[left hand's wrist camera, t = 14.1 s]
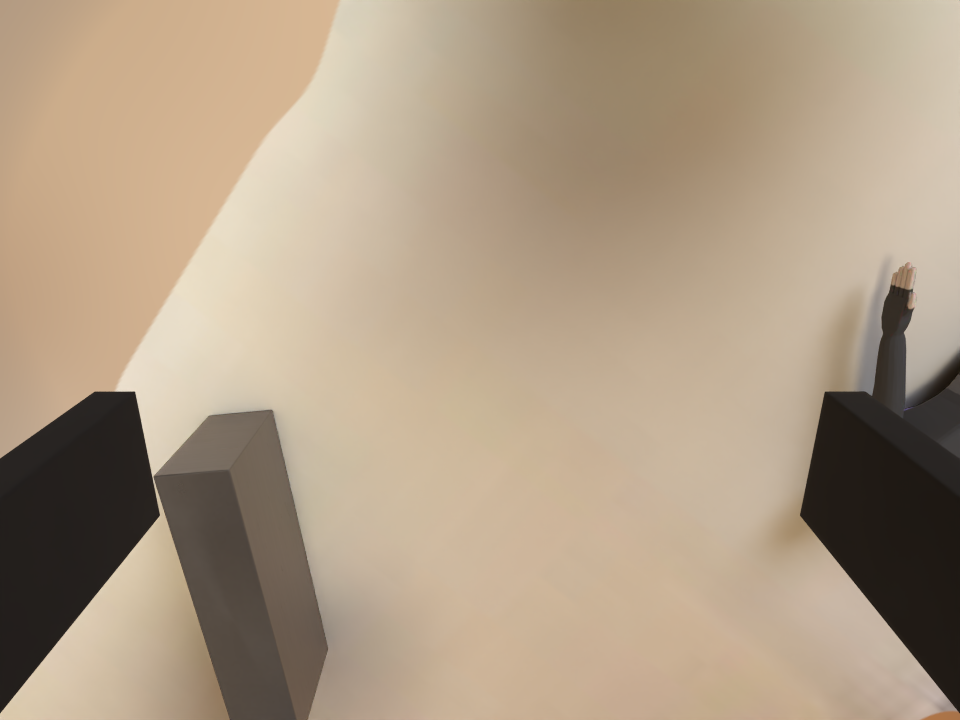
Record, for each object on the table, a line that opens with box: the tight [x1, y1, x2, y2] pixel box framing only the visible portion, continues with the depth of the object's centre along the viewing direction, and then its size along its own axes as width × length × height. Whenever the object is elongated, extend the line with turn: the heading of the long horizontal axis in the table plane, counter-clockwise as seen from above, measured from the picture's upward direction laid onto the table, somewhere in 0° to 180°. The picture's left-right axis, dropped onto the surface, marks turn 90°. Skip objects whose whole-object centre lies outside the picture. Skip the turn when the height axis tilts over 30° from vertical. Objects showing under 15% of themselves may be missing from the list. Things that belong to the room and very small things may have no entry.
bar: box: [154, 410, 328, 720], centre depth 48 cm, size 23×5×9 cm, turn 6°
